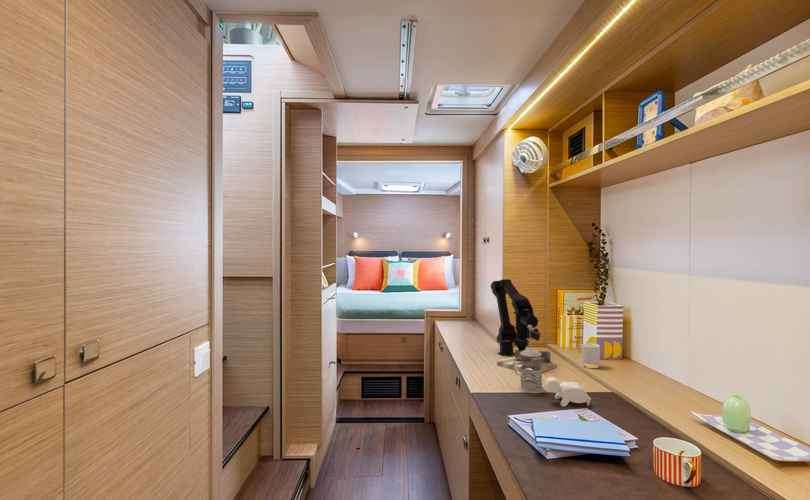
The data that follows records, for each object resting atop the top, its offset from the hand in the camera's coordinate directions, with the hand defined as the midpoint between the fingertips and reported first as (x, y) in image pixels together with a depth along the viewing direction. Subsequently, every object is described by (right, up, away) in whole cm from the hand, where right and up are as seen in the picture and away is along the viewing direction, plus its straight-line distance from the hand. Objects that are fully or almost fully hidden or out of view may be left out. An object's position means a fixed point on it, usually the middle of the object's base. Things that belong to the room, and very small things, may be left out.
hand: (523, 356), depth 190 cm
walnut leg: (+3, 0, -5) cm, 6 cm away
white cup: (+29, -2, -9) cm, 30 cm away
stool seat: (0, -3, -6) cm, 7 cm away
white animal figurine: (0, -3, -51) cm, 52 cm away
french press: (-9, -3, -37) cm, 38 cm away
